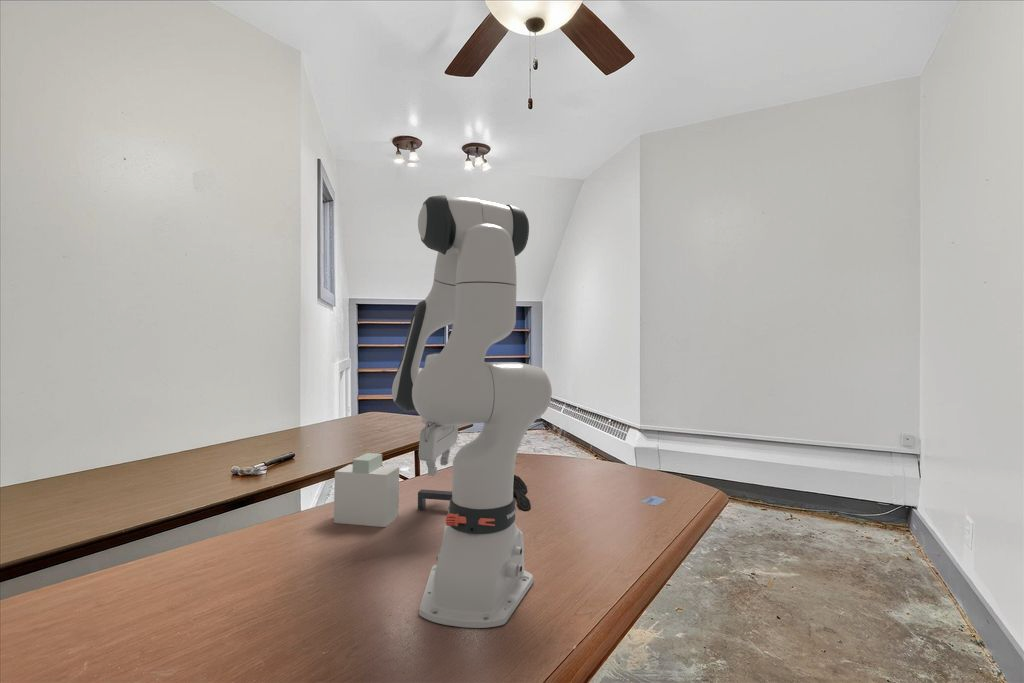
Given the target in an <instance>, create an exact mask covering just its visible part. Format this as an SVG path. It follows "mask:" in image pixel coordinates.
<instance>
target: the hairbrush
mask: <svg viewBox="0 0 1024 683" xmlns="http://www.w3.org/2000/svg"><path fill="white" fill-rule="evenodd" d="M527 493H528V486H527V485H526V483H525V482H524V481H523V480H522V479H521V477H520V476H519V475H517V474H514V481H513V497H514V496H515V497H516V501H517V502H516V503H517V507H518V509H519V510H521V511H524V512H529V511H530V510H531V508H532V506H531V505H532V504H531V502H530V499H529V498H528V497H527Z"/></svg>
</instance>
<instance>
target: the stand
mask: <svg viewBox="0 0 1024 683" xmlns="http://www.w3.org/2000/svg"><path fill="white" fill-rule="evenodd" d="M333 490H334V491H333V492H334V496H333V505H334V506H333V524H341V525H342V524H344V525H355V526H365V527H366V526H367V527H368V526H369V527H377V528H378V527H380V528H387V527H389V525H390V524H392V523H393V522H394V521H395V520H396V519H397V518H398V517H399V510H400V509H399V507H400V506H399V502H400V500H399V498H400V467H399V466H387V465H386V466H385V465H384V466H383V453H373V452H367V453H364V454H362V455H360V456H358V457H356V458H353V459H352V463H349V464H347V465H346V466H343V467H342V468H338V469H337V470H335V471H334V489H333Z"/></svg>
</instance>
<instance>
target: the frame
mask: <svg viewBox="0 0 1024 683" xmlns="http://www.w3.org/2000/svg"><path fill="white" fill-rule="evenodd" d="M451 498H452V490H451V491H450V490H435V489H420V490H419V491H418V492H417V511H424V509H425V508H426V506H427V505H426V504H427V502H426V500H435V501H436V500H437V501H438V500H440V501H449V502H450V499H451Z"/></svg>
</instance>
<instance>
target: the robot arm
mask: <svg viewBox="0 0 1024 683" xmlns="http://www.w3.org/2000/svg"><path fill="white" fill-rule="evenodd" d="M417 229H418V230H417V231H418V233H419V235H420V240H421V242H422V243H423V244H424V246H426V248H428V249H430V250H432V251H435V252H437V256H436V261H435V266H434V274H433V282H432V286H431V289H430V292H429V293H428V295H427V296H426V297H425V298H424V299H423V300H421V301H419V302H418V303H417V304H416V305H415V306H416V307H415V309H414V311H413V313H412V316H411V320H410V324H409V328H408V331H407V333H406V337H405V338H406V339H405V342H404V346H403V349H402V353H401V357H400V361H399V365H398V368H397V370H396V374H395V376H394V379H393V382H392V386H391V387H392V388H391V396H392V401H393V403H394V404H395V405H396V406H397V407H398V408H399V409H401V410H402V411H404V412H405V413H411V412H417V414H418V415H419V416H420V417H421V423H422V424H424V425H425V426H424V427H423V428H421V431H420V434H419V444H418V459H419V460H420V461H423V462H424V461H425V464H426V466H427V467H426V468H427V475H428V476H430V477H434V476H435V475H437V473H438V472H437V471H438V467H436V466H437V465H436V462H437V458H439V457H440V456H441V457H440V458H439V459H440V462H439V463H440V465H441V466H447V465H448V464H449V458H450V453H451V448H452V447H453V446H455V444H456V443H457V440H458V433H459V425H462V424H463V425H466V424H483V426H482V429H481V431H480V433H479V434H478V435H477V437H476V438H475V439H473V440H471V441H470V442H468V443H467V444H465V445H463V446H462V447H461V448H459V449H458V451H457V452H456V453H455V455H454V457H453V459H452V477H451V478H452V480H451V481H452V482H451V483H452V485H451V488H452V489H451V491H452V498H451V499H450V501H449V505H448V510H447V514H446V517H445V524H446V525H444V526H443V530H444V531H443V536H442V540H441V544H440V549H439V552H438V554H437V556H436V564H434V565H432V567H431V569H430V572H429V575H428V577H427V578H428V579H427V582H426V585H425V587H424V592H423V595H422V597H421V601H420V604H419V608H418V615H419V616H420V617H422V619H423V618H424V619H425V620H427V621H429V622H433V623H436V624H440V625H445V626H452V627H458V628H459V627H460V628H469V629H470V628H471V629H472V628H473V629H474V628H475V629H485V628H495V627H499V626H503V625H505V624H506V623H507V622H508V621H509V620H510V618H511V616H512V614H513V613H514V611H515V610H516V609H517V607H518V606H519V604H520V603H521V601H522V599H523V598H524V597H525V595H526V594H527V593H528V592H529V590H530V588H531V587H532V585H533V583H534V575H533V574H532V573H530V572H529V571H527V570H525V555H524V552H525V550H524V546H525V545H524V533H523V532H522V531H521V529H520V528H519V527H518V526H517V525H516V523H515V520H516V513H517V506H516V499H515V497H514V496H513V481H514V475H515V468H516V467H515V465H516V458H517V454H518V450H519V447H520V444H521V443H522V440H523V438H524V437H525V435H526V433H527V432H528V430H529V428H530V427H531V426H532V425H533V423H534V422H535V421H537V420H538V419H539V418H541V416H542V415H544V414H545V412H546V411H547V409H548V408H549V406H550V404H551V401H552V384H551V381H550V378H549V376H548V375H547V373H546V371H545V370H544V369H543V368H542V367H540V366H536V365H533V364H532V365H531V364H528V363H525V362H524V363H523V362H519V361H518V362H517V361H515V362H512V361H508V362H507V361H505V362H503V361H499V362H498V361H493V362H492V361H491V362H490V361H487V362H486V361H485V358H486V355H487V352H488V350H489V349H490V347H491V346H492V345H494V344H496V343H499V342H501V341H503V340H504V339H506V338H507V337H508V336H510V335H511V334H512V332H513V331H514V329H515V326H516V325H517V324H516V323H517V265H516V264H517V262H516V257H518V256H519V255H520V254H521V253H522V252H523V251H524V250H525V249H526V246H527V244H528V241H529V236H530V235H529V234H530V223H529V219H528V217H527V214H526V212H525V211H524V210H523V209H521V208H519V207H516V206H514V205H512V204H506V205H505V204H502V203H497V202H494V201H493V202H492V201H487V200H482V199H479V198H475V197H465V196H463V197H461V196H446V195H442V194H441V195H434V196H433V195H432V196H429V197H427V198H426V199H425V201H424V202H423V204H422V206H421V209H420V211H419V214H418V217H417ZM451 325H452V329H451V330H450V331H451V332H450V334H449V336H448V339H447V341H446V343H445V346H444V347H443V349H442V350H441V351H440V352H433V353H429V354H427V355H426V357H425V362H424V367H423V368H421V367H420V365H421V362H422V359H423V358H422V357H423V354H424V350H425V348H426V347H425V346H426V344H427V340H428V339H429V337H430V336H431V335H432V334H433V333H435V332H436V331H438V330H439V329H442V328H444V327H447V326H451Z"/></svg>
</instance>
